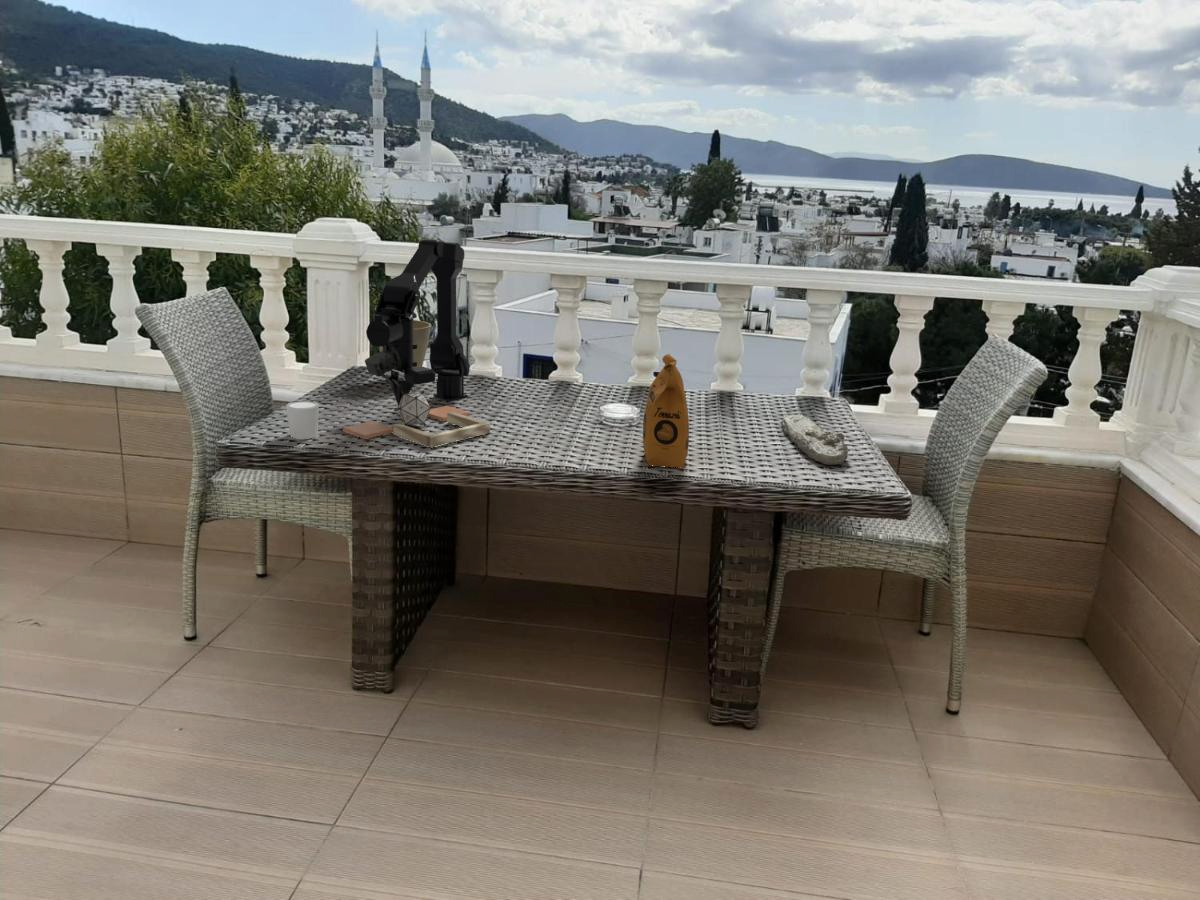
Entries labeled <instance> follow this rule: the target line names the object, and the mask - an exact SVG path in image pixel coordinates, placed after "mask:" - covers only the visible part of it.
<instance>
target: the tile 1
mask: <svg viewBox="0 0 1200 900" xmlns="http://www.w3.org/2000/svg"><path fill="white" fill-rule="evenodd" d="M342 429H343V433H345V434H349V435H351V436H353V437H357V438H359V437H360V439H362V440H365V439H366V440H369V438H370V439H373V437H374V438H377V437H376V436H379V437H381V436H380V435H383V436H386V435H385V434H388V435H390V434H389V433H392V432H394V429H393V427H391V426H388V425H387V424H386V425H385V424H382V423H379V422H377V421H368V422H363V423H358V424H353V425H349V426H344V427H343V428H342ZM392 434H393V433H392Z"/></svg>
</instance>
